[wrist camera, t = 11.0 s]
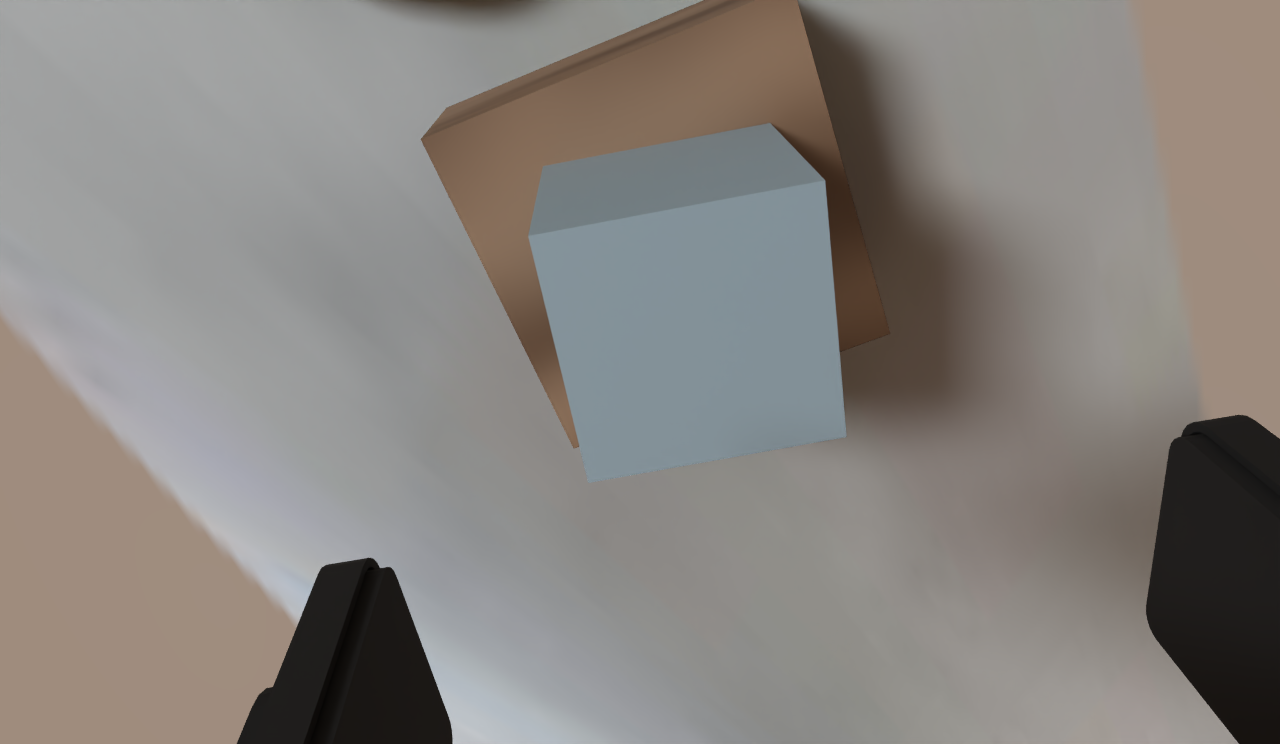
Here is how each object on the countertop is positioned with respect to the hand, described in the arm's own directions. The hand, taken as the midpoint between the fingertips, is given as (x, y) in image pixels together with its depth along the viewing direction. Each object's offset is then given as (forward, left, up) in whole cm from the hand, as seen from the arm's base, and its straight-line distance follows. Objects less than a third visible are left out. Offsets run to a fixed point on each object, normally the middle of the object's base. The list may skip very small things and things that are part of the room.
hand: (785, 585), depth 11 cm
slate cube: (+1, 0, -15) cm, 15 cm away
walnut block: (0, 0, -20) cm, 20 cm away
